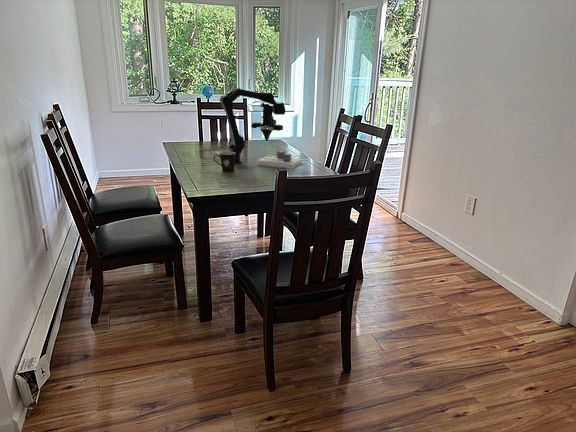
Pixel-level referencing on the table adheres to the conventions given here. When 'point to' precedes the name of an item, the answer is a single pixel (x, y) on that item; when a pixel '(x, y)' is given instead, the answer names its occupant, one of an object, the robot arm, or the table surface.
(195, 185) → the table surface
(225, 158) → the coffee mug
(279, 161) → the console
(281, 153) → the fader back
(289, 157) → the fader front
